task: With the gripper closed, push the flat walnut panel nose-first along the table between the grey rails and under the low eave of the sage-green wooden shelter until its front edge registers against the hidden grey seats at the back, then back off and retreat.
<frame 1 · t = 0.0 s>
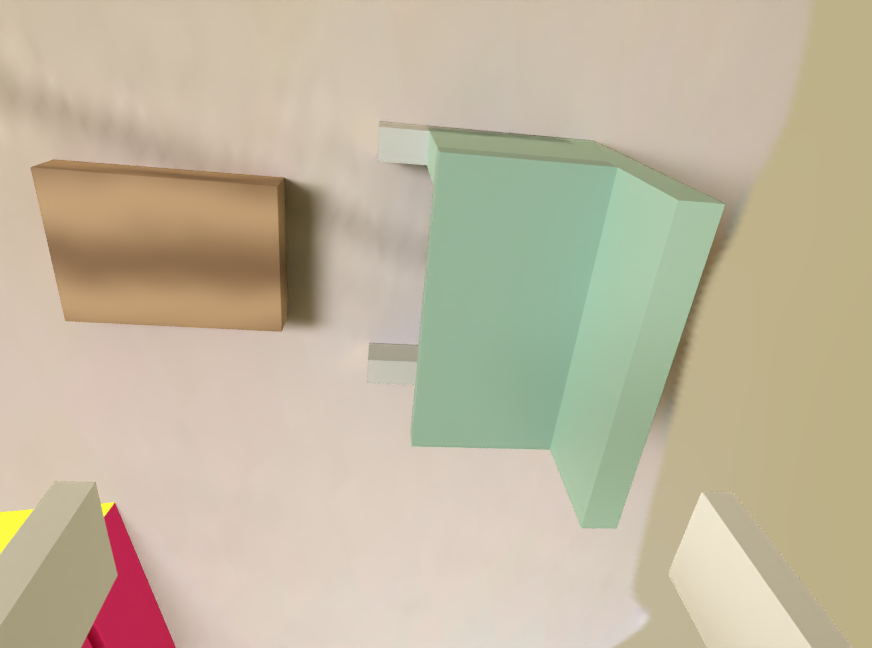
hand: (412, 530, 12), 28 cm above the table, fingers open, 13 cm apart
shelter: (498, 264, 40), on the table
walnut panel: (182, 241, 38), on the table
pyramid toy: (30, 597, 53), on the table
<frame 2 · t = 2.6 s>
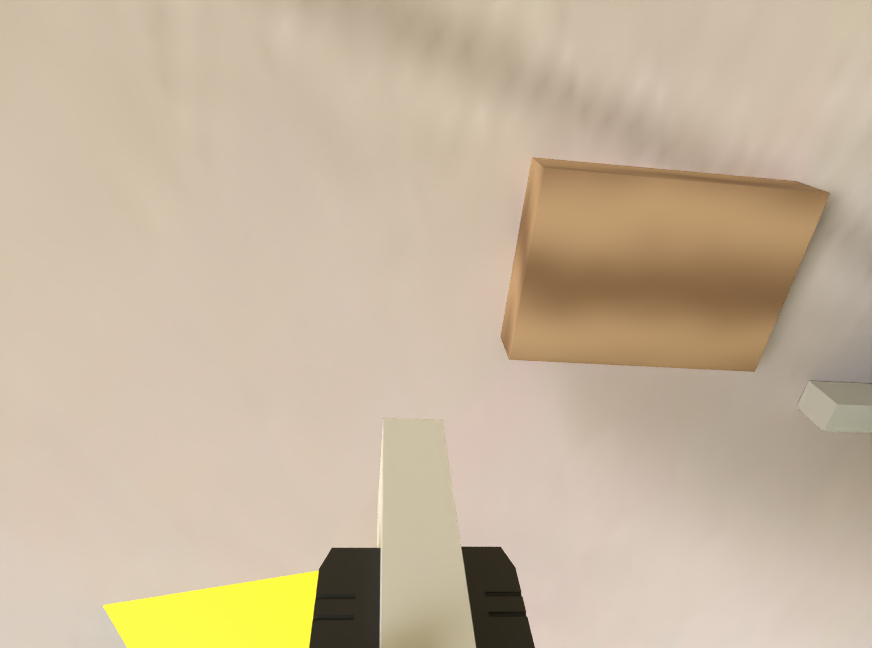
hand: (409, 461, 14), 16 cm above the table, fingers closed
walnut panel: (637, 259, 30), on the table
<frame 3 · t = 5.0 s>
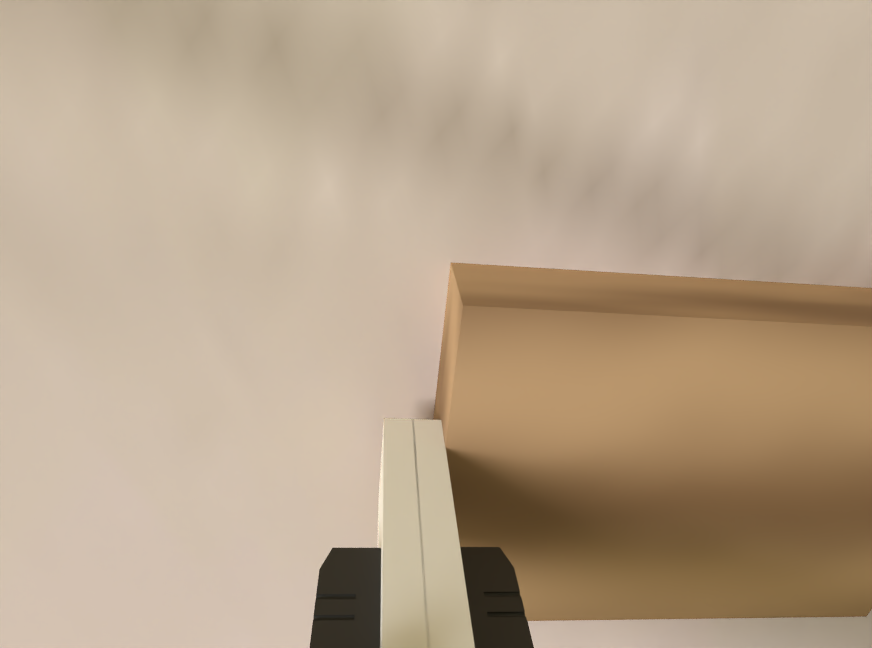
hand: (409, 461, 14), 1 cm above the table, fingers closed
walnut panel: (657, 422, 17), on the table, touching gripper
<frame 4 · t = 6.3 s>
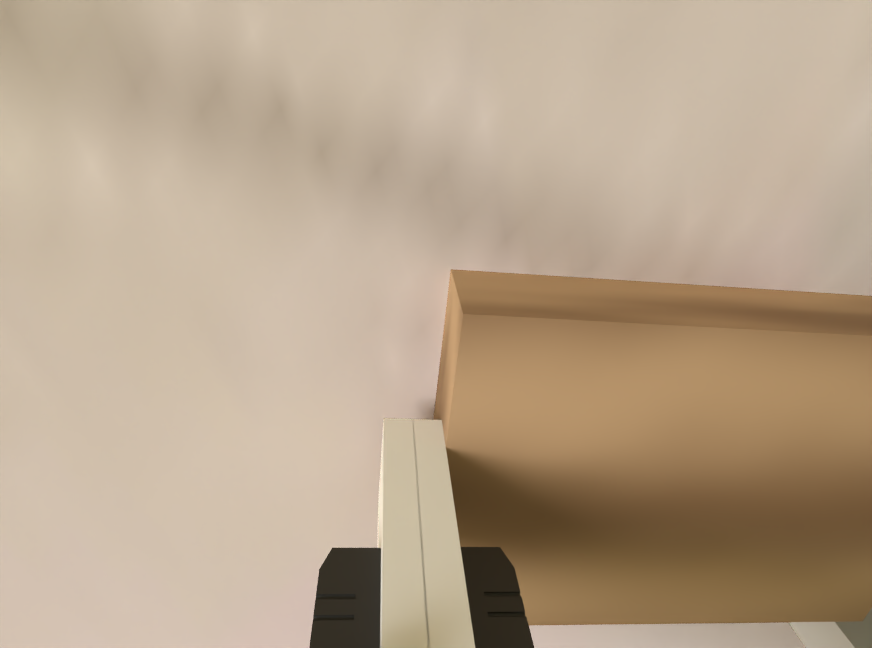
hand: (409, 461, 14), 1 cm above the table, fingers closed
walnut panel: (655, 428, 17), on the table, touching gripper
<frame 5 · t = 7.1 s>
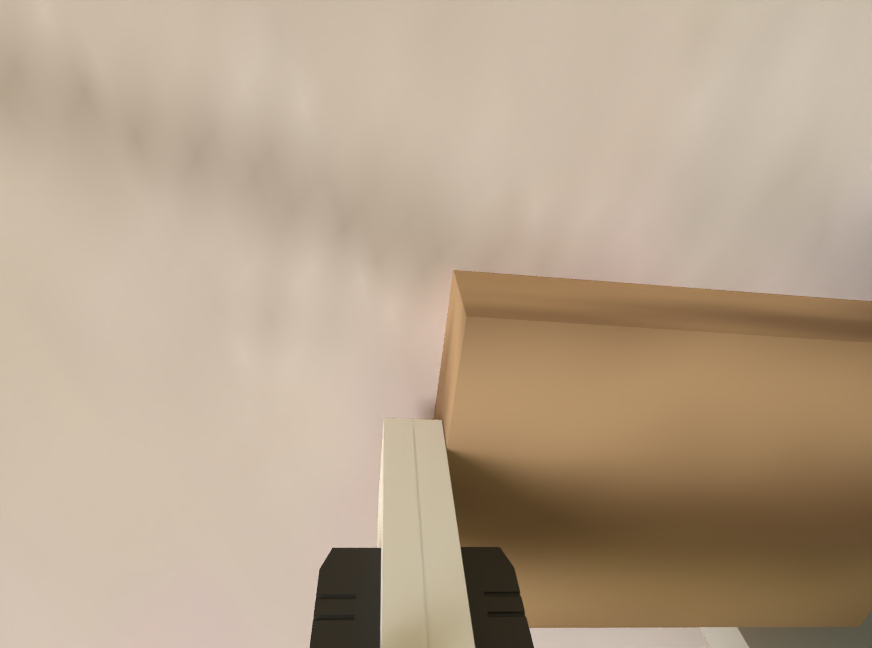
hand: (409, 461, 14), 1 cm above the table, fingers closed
walnut panel: (655, 432, 17), on the table, touching gripper
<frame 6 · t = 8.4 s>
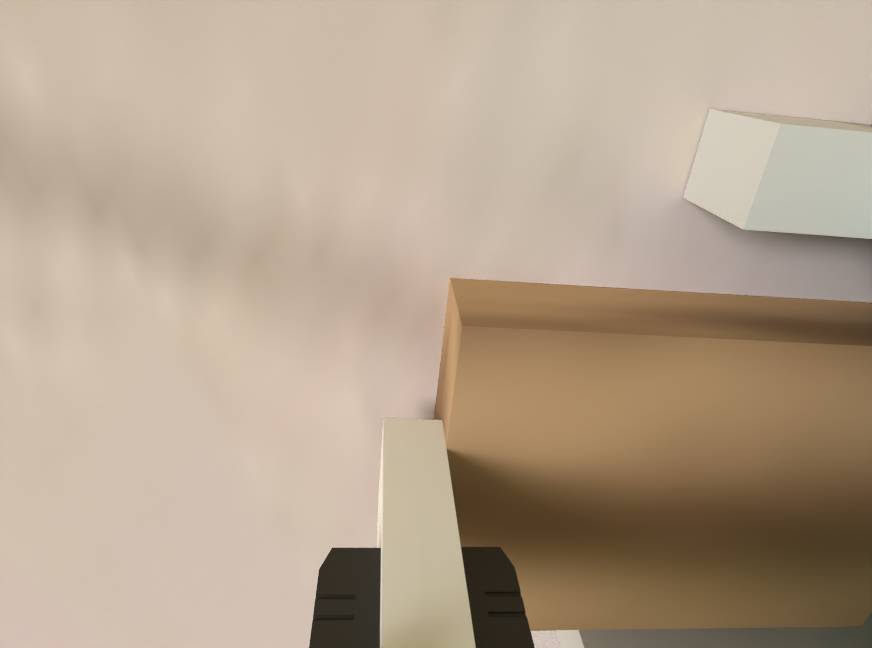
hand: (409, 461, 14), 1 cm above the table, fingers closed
walnut panel: (654, 434, 17), on the table, touching gripper
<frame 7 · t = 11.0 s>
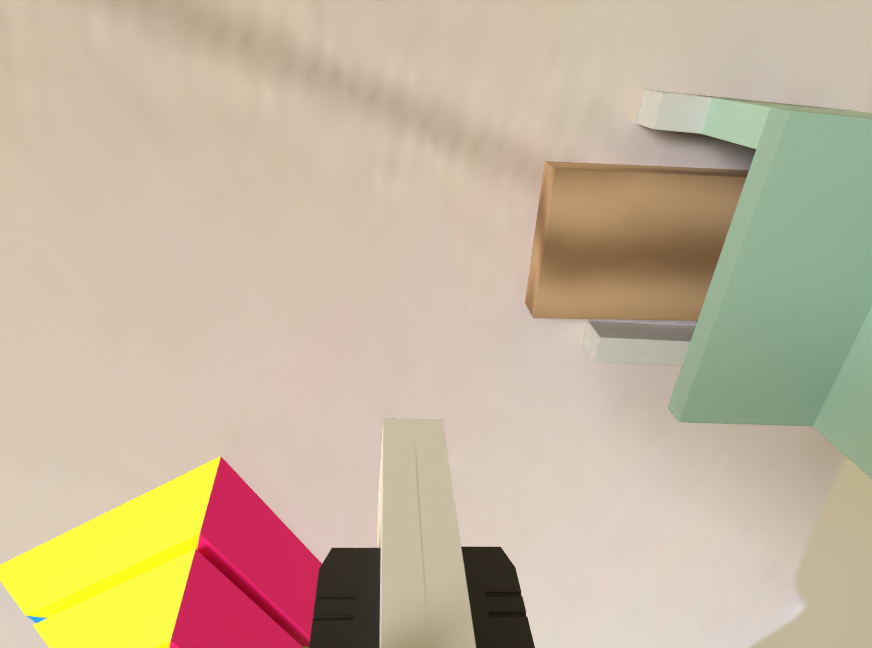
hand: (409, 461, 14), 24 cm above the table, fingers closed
shelter: (732, 239, 39), on the table
walnut panel: (629, 237, 39), on the table
pyramid toy: (198, 586, 52), on the table
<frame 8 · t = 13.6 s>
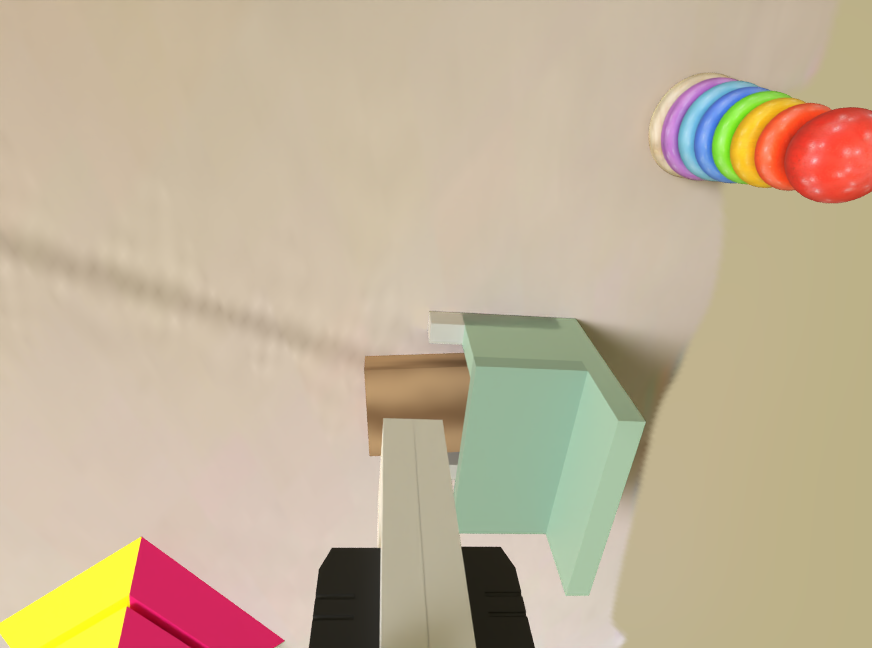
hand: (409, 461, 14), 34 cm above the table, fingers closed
shelter: (509, 395, 56), on the table
walnut panel: (437, 394, 56), on the table
stacking toy: (691, 125, 45), on the table
pyramid toy: (148, 626, 69), on the table
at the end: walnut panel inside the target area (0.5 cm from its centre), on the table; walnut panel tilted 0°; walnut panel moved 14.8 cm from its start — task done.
